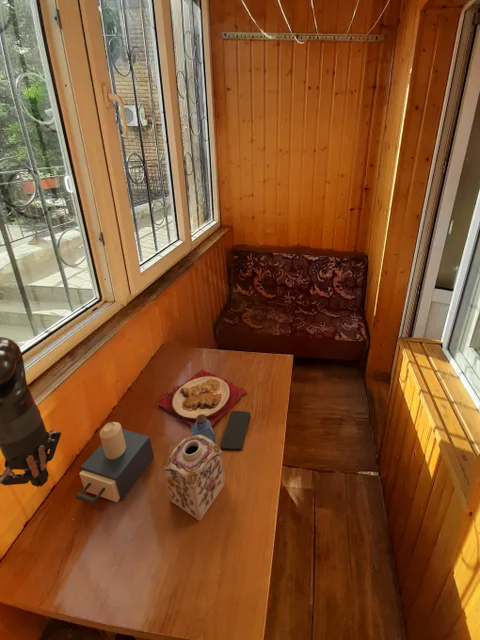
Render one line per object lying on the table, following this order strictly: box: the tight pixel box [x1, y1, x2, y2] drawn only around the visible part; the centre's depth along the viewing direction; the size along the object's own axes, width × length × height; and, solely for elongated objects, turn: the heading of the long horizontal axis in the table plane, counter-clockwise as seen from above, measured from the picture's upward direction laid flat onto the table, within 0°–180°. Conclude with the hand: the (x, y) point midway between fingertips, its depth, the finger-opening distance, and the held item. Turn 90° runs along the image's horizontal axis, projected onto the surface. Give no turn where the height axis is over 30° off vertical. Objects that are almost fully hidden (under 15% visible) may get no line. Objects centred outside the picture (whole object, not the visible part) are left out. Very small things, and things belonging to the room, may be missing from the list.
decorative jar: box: [162, 435, 226, 522], centre depth 87 cm, size 12×12×18 cm
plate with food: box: [156, 368, 247, 427], centre depth 123 cm, size 24×26×4 cm
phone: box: [220, 410, 251, 451], centre depth 110 cm, size 7×1×15 cm
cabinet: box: [80, 428, 155, 502], centre depth 95 cm, size 14×13×9 cm
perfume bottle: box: [191, 414, 217, 445], centre depth 103 cm, size 6×6×12 cm
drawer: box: [75, 470, 120, 506], centre depth 91 cm, size 17×11×7 cm
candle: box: [99, 421, 126, 459], centre depth 91 cm, size 6×6×10 cm
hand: (41, 482), depth 71 cm, fingers closed
